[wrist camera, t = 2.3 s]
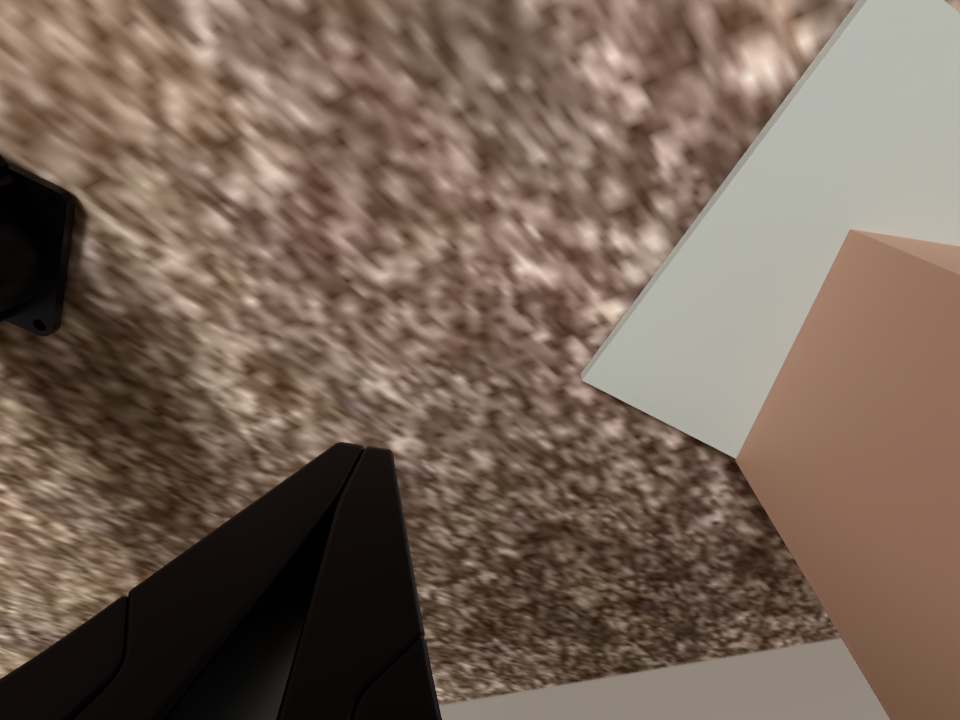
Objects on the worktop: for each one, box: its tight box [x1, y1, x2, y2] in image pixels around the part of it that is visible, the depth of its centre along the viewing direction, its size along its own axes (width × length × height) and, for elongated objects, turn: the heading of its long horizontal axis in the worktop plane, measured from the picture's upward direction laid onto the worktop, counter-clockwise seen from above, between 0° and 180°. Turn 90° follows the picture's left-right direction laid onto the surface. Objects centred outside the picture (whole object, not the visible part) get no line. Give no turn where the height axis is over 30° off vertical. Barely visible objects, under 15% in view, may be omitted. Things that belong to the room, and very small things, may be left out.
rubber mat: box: [581, 0, 960, 459], centre depth 19 cm, size 15×22×1 cm
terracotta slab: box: [735, 229, 960, 720], centre depth 14 cm, size 4×10×11 cm, turn 172°
